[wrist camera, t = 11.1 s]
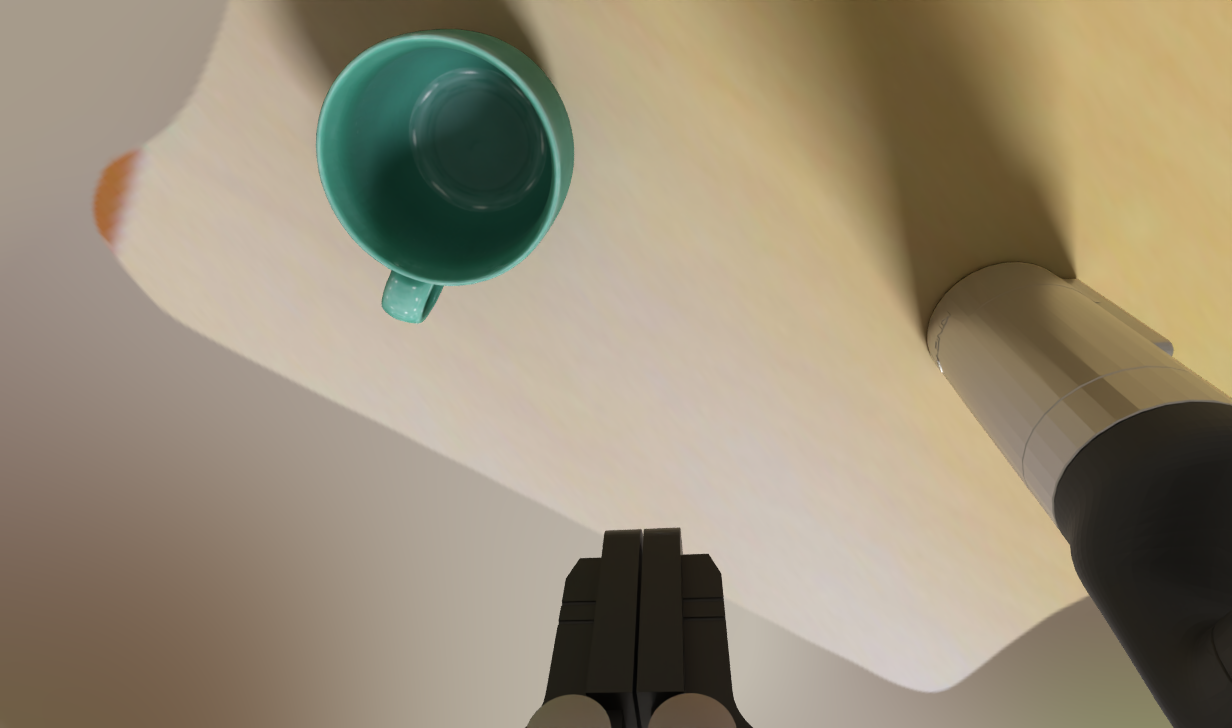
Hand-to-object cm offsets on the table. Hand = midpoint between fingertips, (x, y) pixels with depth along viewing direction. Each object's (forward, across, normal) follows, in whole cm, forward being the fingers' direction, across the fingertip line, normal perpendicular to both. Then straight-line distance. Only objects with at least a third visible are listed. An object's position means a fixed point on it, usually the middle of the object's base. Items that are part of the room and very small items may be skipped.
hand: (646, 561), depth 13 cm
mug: (+33, +12, -2) cm, 35 cm away
